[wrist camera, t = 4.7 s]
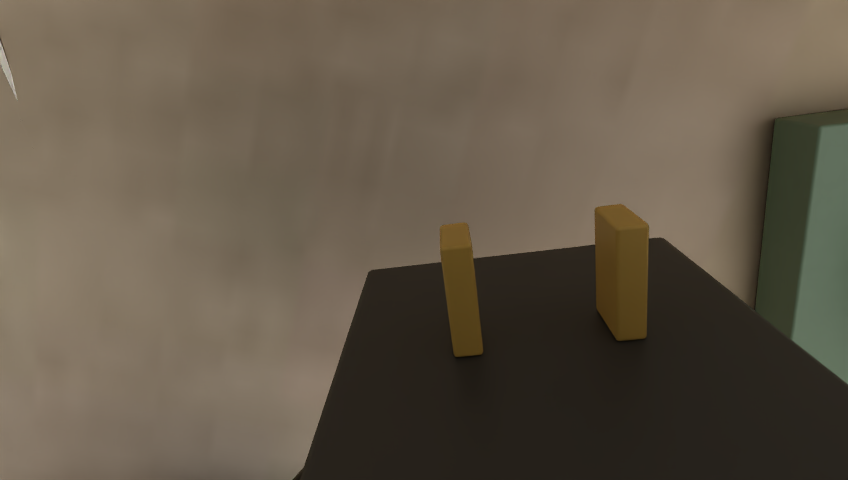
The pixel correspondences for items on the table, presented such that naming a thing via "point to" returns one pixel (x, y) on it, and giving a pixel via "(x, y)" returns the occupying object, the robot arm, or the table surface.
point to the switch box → (808, 236)
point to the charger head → (573, 372)
